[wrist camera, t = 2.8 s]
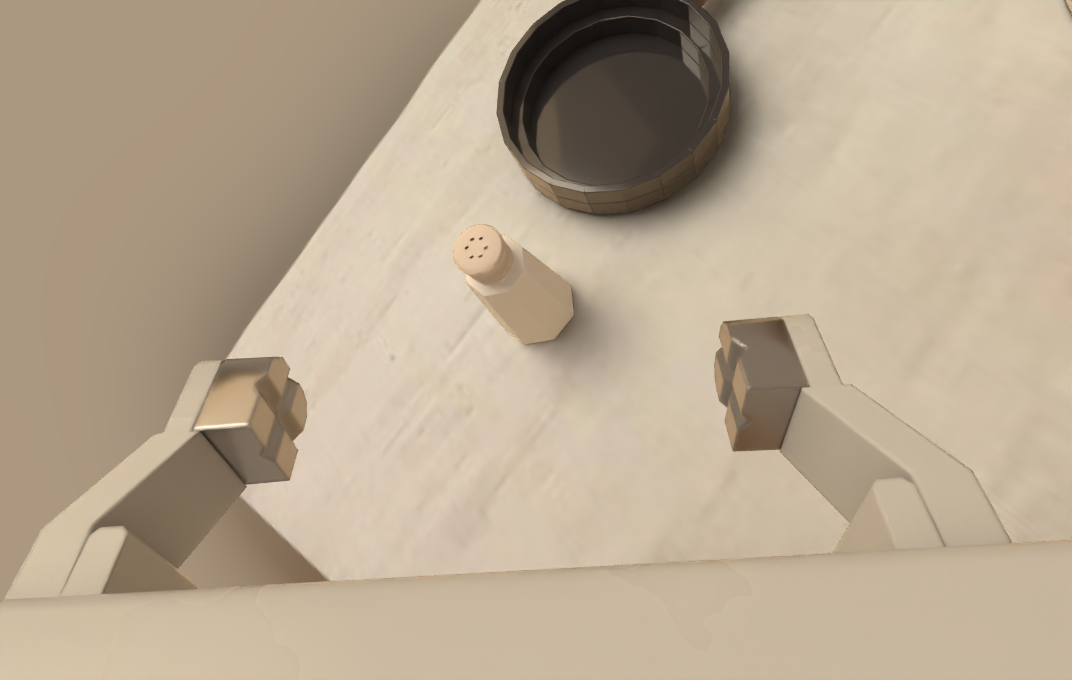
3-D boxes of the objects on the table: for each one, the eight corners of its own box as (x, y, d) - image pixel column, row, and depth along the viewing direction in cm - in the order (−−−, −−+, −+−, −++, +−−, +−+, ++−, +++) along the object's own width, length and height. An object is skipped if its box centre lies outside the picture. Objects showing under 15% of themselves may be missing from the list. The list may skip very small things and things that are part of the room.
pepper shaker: (486, 294, 44) (412, 234, 34) (553, 253, 44) (498, 179, 33) (519, 360, 42) (452, 318, 32) (590, 319, 42) (544, 262, 31)
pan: (599, -9, 47) (588, -49, 44) (776, 76, 42) (780, 37, 38) (475, 151, 47) (454, 123, 44) (637, 257, 42) (628, 235, 38)
